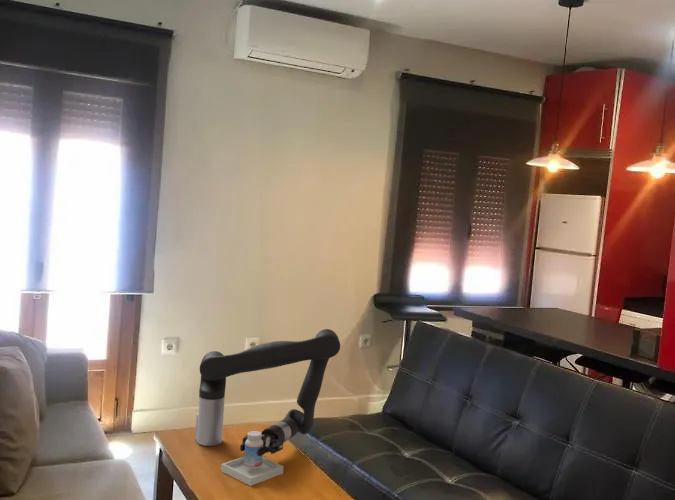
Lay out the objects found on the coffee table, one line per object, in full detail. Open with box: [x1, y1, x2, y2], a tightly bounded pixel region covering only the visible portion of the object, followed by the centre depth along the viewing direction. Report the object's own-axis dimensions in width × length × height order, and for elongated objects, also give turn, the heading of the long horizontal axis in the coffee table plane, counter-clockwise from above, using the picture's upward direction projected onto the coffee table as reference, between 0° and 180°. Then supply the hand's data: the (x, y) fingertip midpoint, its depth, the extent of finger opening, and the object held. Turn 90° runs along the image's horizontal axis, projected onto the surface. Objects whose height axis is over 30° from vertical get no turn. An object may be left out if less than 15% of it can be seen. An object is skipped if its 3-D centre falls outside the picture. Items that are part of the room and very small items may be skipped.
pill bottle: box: [243, 430, 264, 469], centre depth 232 cm, size 6×6×11 cm
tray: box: [220, 456, 285, 487], centre depth 233 cm, size 15×15×2 cm
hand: (250, 450), depth 230 cm, fingers closed on pill bottle, 6 cm apart
